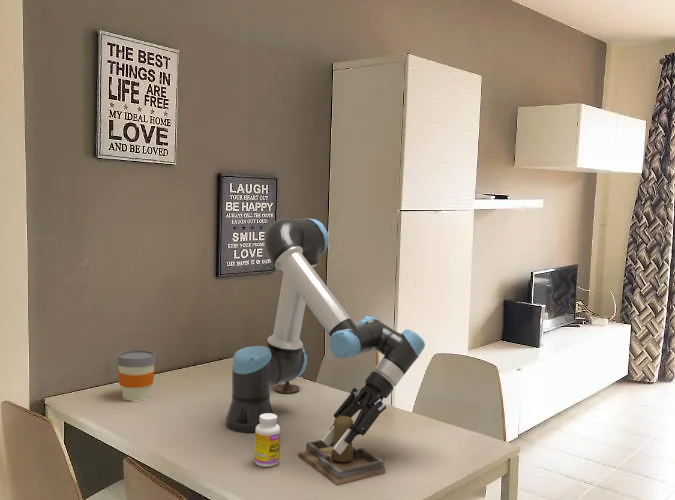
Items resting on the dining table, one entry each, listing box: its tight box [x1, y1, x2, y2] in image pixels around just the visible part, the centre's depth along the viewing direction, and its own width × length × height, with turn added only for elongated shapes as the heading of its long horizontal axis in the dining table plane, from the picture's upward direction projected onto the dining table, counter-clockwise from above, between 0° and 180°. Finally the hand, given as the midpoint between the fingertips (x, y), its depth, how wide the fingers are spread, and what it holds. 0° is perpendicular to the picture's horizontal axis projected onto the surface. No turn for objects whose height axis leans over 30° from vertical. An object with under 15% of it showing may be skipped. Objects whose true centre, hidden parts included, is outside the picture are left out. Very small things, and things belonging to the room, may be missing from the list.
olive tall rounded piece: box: [331, 416, 354, 462], centre depth 173 cm, size 6×6×11 cm
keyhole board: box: [297, 439, 386, 486], centre depth 173 cm, size 20×15×3 cm
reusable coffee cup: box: [116, 349, 157, 402], centre depth 222 cm, size 12×13×15 cm
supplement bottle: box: [254, 413, 281, 468], centre depth 172 cm, size 7×7×13 cm
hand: (330, 447), depth 171 cm, fingers closed on olive tall rounded piece, 5 cm apart
